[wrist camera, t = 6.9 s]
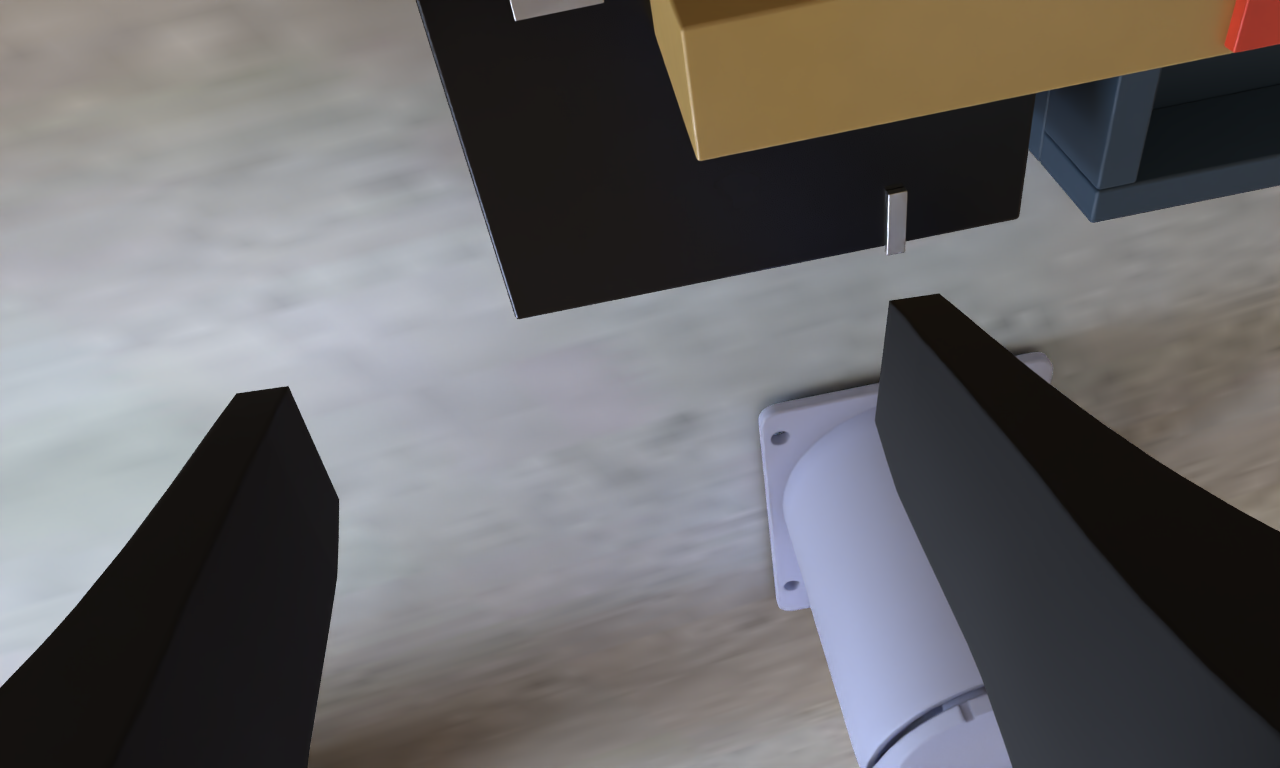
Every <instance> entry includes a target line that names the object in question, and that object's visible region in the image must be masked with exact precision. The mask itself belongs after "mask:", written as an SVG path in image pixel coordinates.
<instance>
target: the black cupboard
mask: <svg viewBox="0 0 1280 768" xmlns="http://www.w3.org/2000/svg"><path fill="white" fill-rule="evenodd" d="M416 3H417V6H418V9H419V13H420V16H421V19H422V22H423V25H424V28H425V32H426V35H427V38H428V41H429V44H430V48H431V51H432V54H433V57H434V60H435V63H436V67H437V70H438V73H439V76H440V79H441V83H442V86H443V89H444V92H445V95H446V98H447V102H448V105H449V108H450V111H451V114H452V118H453V121H454V124H455V127H456V130H457V133H458V137H459V140H460V143H461V146H462V149H463V153H464V156H465V159H466V162H467V165H468V168H469V172H470V175H471V178H472V181H473V184H474V187H475V191H476V194H477V197H478V200H479V203H480V207H481V210H482V213H483V216H484V219H485V222H486V226H487V229H488V232H489V235H490V238H491V242H492V245H493V248H494V251H495V254H496V257H497V261H498V264H499V267H500V270H501V273H502V277H503V280H504V283H505V286H506V289H507V292H508V296H509V299H510V302H511V305H512V308H513V312H514V315H515V317H516V318H517V319H523V318H528V317H533V316H538V315H542V314H547V313H552V312H557V311H562V310H567V309H572V308H577V307H582V306H587V305H592V304H597V303H602V302H607V301H612V300H617V299H622V298H627V297H632V296H637V295H642V294H647V293H652V292H657V291H662V290H667V289H672V288H677V287H682V286H686V285H691V284H696V283H701V282H706V281H711V280H716V279H721V278H726V277H731V276H736V275H741V274H746V273H751V272H756V271H761V270H766V269H771V268H776V267H781V266H786V265H791V264H796V263H801V262H806V261H811V260H816V259H821V258H826V257H830V256H835V255H840V254H845V253H850V252H855V251H860V250H865V249H870V248H875V247H880V246H885V253H886V254H887V256H888V255H893V254H898V253H903V252H905V241H910V240H915V239H920V238H925V237H930V236H935V235H940V234H945V233H950V232H955V231H960V230H965V229H970V228H974V227H979V226H984V225H989V224H994V223H999V222H1004V221H1009V220H1014V219H1017V218H1018V217H1019V214H1020V207H1021V199H1022V192H1023V185H1024V177H1025V170H1026V163H1027V156H1028V148H1029V141H1030V134H1031V126H1032V119H1033V112H1034V104H1035V97H1036V93H1033V94H1028V95H1023V96H1018V97H1013V98H1008V99H1003V100H999V101H994V102H989V103H984V104H979V105H974V106H969V107H964V108H959V109H954V110H949V111H944V112H939V113H935V114H930V115H925V116H920V117H915V118H910V119H905V120H900V121H895V122H890V123H885V124H880V125H876V126H871V127H866V128H861V129H856V130H851V131H846V132H841V133H836V134H831V135H826V136H821V137H816V138H812V139H807V140H802V141H797V142H792V143H787V144H782V145H777V146H772V147H767V148H762V149H757V150H752V151H748V152H743V153H738V154H733V155H728V156H723V157H718V158H713V159H708V160H703V161H699V160H698V159H697V158H696V155H695V152H694V149H693V146H692V143H691V140H690V137H689V134H688V131H687V128H686V125H685V122H684V119H683V116H682V113H681V110H680V107H679V104H678V101H677V98H676V95H675V92H674V89H673V86H672V83H671V80H670V77H669V74H668V71H667V68H666V65H665V62H664V60H663V57H662V54H661V51H660V48H659V45H658V42H657V39H656V36H655V30H654V24H653V17H652V10H651V3H650V0H416Z"/></svg>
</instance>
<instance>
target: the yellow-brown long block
mask: <svg viewBox="0 0 1280 768" xmlns="http://www.w3.org/2000/svg"><path fill="white" fill-rule="evenodd" d="M650 3H651V10H652V17H653V24H654V30H655V36H656V39H657V42H658V45H659V48H660V51H661V54H662V57H663V60H664V62H665V65H666V68H667V71H668V74H669V77H670V80H671V83H672V86H673V89H674V92H675V95H676V98H677V101H678V104H679V107H680V110H681V113H682V116H683V119H684V122H685V125H686V128H687V131H688V134H689V137H690V140H691V143H692V146H693V149H694V152H695V155H696V158H697V159H698V160H699V161H703V160H708V159H713V158H718V157H723V156H728V155H733V154H738V153H743V152H748V151H752V150H757V149H762V148H767V147H772V146H777V145H782V144H787V143H792V142H797V141H802V140H807V139H812V138H816V137H821V136H826V135H831V134H836V133H841V132H846V131H851V130H856V129H861V128H866V127H871V126H876V125H880V124H885V123H890V122H895V121H900V120H905V119H910V118H915V117H920V116H925V115H930V114H935V113H939V112H944V111H949V110H954V109H959V108H964V107H969V106H974V105H979V104H984V103H989V102H994V101H999V100H1003V99H1008V98H1013V97H1018V96H1023V95H1028V94H1033V93H1038V92H1043V91H1048V90H1053V89H1058V88H1063V87H1067V86H1072V85H1077V84H1082V83H1087V82H1092V81H1097V80H1102V79H1107V78H1112V77H1117V76H1122V75H1126V74H1131V73H1136V72H1141V71H1146V70H1151V69H1156V68H1161V67H1166V66H1171V65H1176V64H1181V63H1186V62H1190V61H1195V60H1200V59H1205V58H1210V57H1215V56H1220V55H1225V54H1230V53H1237V52H1242V51H1247V50H1252V49H1257V48H1262V47H1267V46H1272V45H1277V44H1280V0H650Z"/></svg>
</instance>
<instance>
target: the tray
mask: <svg viewBox="0 0 1280 768" xmlns="http://www.w3.org/2000/svg"><path fill="white" fill-rule="evenodd" d="M1029 150H1030V152H1031V153H1032V154H1033V155H1034V156H1035V157H1036V159H1037V160H1039V161H1040V162H1041V164H1042V165H1043V166H1044V168H1045V169H1046V170H1047V171H1048V172H1049V174H1050V175H1051V176H1052V177H1053V178H1054V179H1055V181H1056V182H1057V183H1058V184H1059V185H1060V187H1061V188H1062V189H1063V190H1064V191H1065V193H1066V194H1067V195H1068V196H1069V197H1070V198H1071V200H1072V201H1073V202H1074V203H1075V204H1076V206H1077V207H1078V208H1079V209H1080V210H1081V211H1082V213H1083V214H1084V215H1085V216H1086V217H1087V219H1088V220H1089V221H1090V222H1093V223H1095V222H1100V221H1105V220H1110V219H1115V218H1120V217H1125V216H1130V215H1135V214H1140V213H1145V212H1150V211H1155V210H1160V209H1165V208H1170V207H1175V206H1180V205H1185V204H1190V203H1195V202H1200V201H1205V200H1210V199H1214V198H1219V197H1224V196H1229V195H1234V194H1239V193H1244V192H1249V191H1254V190H1259V189H1264V188H1269V187H1274V186H1279V185H1280V44H1277V45H1272V46H1267V47H1262V48H1257V49H1252V50H1247V51H1242V52H1237V53H1230V54H1225V55H1220V56H1215V57H1210V58H1205V59H1200V60H1195V61H1190V62H1186V63H1181V64H1176V65H1171V66H1166V67H1161V68H1156V69H1151V70H1146V71H1141V72H1136V73H1131V74H1126V75H1122V76H1117V77H1112V78H1107V79H1102V80H1097V81H1092V82H1087V83H1082V84H1077V85H1072V86H1067V87H1063V88H1058V89H1053V90H1048V91H1043V92H1038V93H1036V97H1035V104H1034V112H1033V119H1032V126H1031V134H1030V141H1029Z"/></svg>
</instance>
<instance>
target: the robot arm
mask: <svg viewBox="0 0 1280 768" xmlns="http://www.w3.org/2000/svg"><path fill="white" fill-rule="evenodd" d="M1052 374H1053V364H1052V363H1051V361H1050V360H1049V358H1048V357H1047V356H1046V354H1044V353H1041V352H1031V353H1026V354H1021V355H1016V356H1014V355H1013V354H1012V353H1010V352H1009V351H1008V350H1007V349H1006V348H1004V347H1003V346H1002V345H1001V344H999V343H998V342H997V341H996V340H995V339H993V338H992V337H991V336H990V335H989V334H987V333H986V332H985V331H984V330H983V329H981V328H980V327H979V326H978V325H977V324H975V323H974V322H973V321H972V320H971V319H969V318H968V317H967V316H966V315H965V314H963V313H962V312H961V311H960V310H959V309H957V308H956V307H955V306H954V305H953V304H951V303H950V302H949V301H948V300H946V299H945V298H944V297H943V296H941V295H940V294H933V295H926V296H919V297H912V298H905V299H898V300H891V301H889V308H888V316H887V324H886V332H885V341H884V349H883V357H882V365H881V373H880V382H879V383H876V384H871V385H866V386H861V387H856V388H851V389H846V390H841V391H836V392H831V393H826V394H821V395H816V396H811V397H806V398H801V399H796V400H791V401H786V402H781V403H776V404H773V405H770V406H768V407H766V408H765V409H763V410H762V412H761V413H760V415H759V419H758V422H759V432H760V442H761V452H762V462H763V472H764V482H765V492H766V502H767V512H768V522H769V532H770V542H771V552H772V562H773V572H774V582H775V592H776V599H777V603H778V606H779V608H781V609H783V610H786V611H794V610H799V609H805V608H810V607H811V610H812V613H813V617H814V620H815V623H816V627H817V630H818V633H819V637H820V640H821V643H822V647H823V650H824V653H825V657H826V660H827V663H828V667H829V670H830V673H831V677H832V680H833V683H834V687H835V690H836V693H837V697H838V700H839V703H840V707H841V710H842V713H843V717H844V720H845V723H846V727H847V730H848V733H849V737H850V740H851V743H852V747H853V750H854V753H855V756H856V759H857V761H858V764H859V766H860V768H1280V532H1279V531H1277V530H1275V529H1273V528H1271V527H1269V526H1268V525H1266V524H1264V523H1262V522H1260V521H1258V520H1257V519H1255V518H1253V517H1251V516H1249V515H1247V514H1246V513H1244V512H1242V511H1240V510H1238V509H1237V508H1235V507H1233V506H1231V505H1230V504H1228V503H1226V502H1225V501H1223V500H1221V499H1220V498H1218V497H1216V496H1214V495H1213V494H1211V493H1209V492H1208V491H1206V490H1204V489H1203V488H1201V487H1199V486H1198V485H1196V484H1194V483H1192V482H1191V481H1189V480H1187V479H1186V478H1184V477H1182V476H1181V475H1179V474H1177V473H1176V472H1174V471H1173V470H1171V469H1170V468H1168V467H1166V466H1165V465H1163V464H1162V463H1160V462H1158V461H1157V460H1155V459H1154V458H1152V457H1151V456H1149V455H1148V454H1146V453H1145V452H1143V451H1142V450H1140V449H1139V448H1138V447H1136V446H1135V445H1133V444H1132V443H1130V442H1129V441H1127V440H1126V439H1124V438H1123V437H1122V436H1120V435H1119V434H1117V433H1116V432H1114V431H1113V430H1111V429H1110V428H1108V427H1107V426H1106V425H1104V424H1103V423H1101V422H1100V421H1099V420H1097V419H1096V418H1094V417H1093V416H1092V415H1090V414H1089V413H1088V412H1086V411H1085V410H1084V409H1082V408H1081V407H1079V406H1078V405H1077V404H1075V403H1074V402H1073V401H1071V400H1070V399H1069V398H1067V397H1066V396H1065V395H1063V394H1062V393H1061V392H1060V391H1058V390H1057V389H1056V388H1054V387H1053V386H1052V385H1051V379H1052ZM780 431H783V432H782V433H780V434H777V435H774V434H775V433H777V432H780ZM338 543H339V498H338V496H337V494H336V492H335V489H334V487H333V485H332V483H331V480H330V478H329V476H328V474H327V471H326V469H325V467H324V465H323V463H322V460H321V458H320V456H319V454H318V451H317V449H316V447H315V445H314V442H313V440H312V438H311V436H310V434H309V431H308V429H307V427H306V425H305V422H304V420H303V418H302V416H301V413H300V411H299V409H298V407H297V405H296V402H295V400H294V398H293V396H292V393H291V391H290V389H289V387H288V386H286V387H279V388H272V389H265V390H258V391H251V392H244V393H237V394H236V395H235V396H234V398H233V399H232V400H231V402H230V403H229V404H228V406H227V407H226V408H225V410H224V411H223V412H222V414H221V415H220V416H219V418H218V419H217V421H216V422H215V423H214V425H213V426H212V428H211V429H210V430H209V432H208V433H207V435H206V436H205V437H204V439H203V440H202V442H201V443H200V444H199V446H198V447H197V449H196V450H195V452H194V453H193V454H192V456H191V457H190V459H189V460H188V461H187V463H186V464H185V466H184V467H183V468H182V470H181V471H180V473H179V474H178V475H177V477H176V478H175V480H174V481H173V482H172V484H171V485H170V487H169V488H168V489H167V491H166V492H165V493H164V495H163V496H162V497H161V499H160V500H159V501H158V503H157V504H156V505H155V507H154V508H153V509H152V511H151V512H150V513H149V515H148V516H147V517H146V519H145V520H144V521H143V523H142V524H141V525H140V527H139V528H138V529H137V531H136V532H135V534H134V535H133V536H132V538H131V539H130V540H129V541H128V543H127V544H126V545H125V547H124V548H123V549H122V550H121V552H120V553H119V554H118V555H117V557H116V558H115V559H114V560H113V561H112V563H111V564H110V565H109V566H108V568H107V569H106V570H105V571H104V572H103V574H102V575H101V576H100V577H99V579H98V580H97V581H96V582H95V583H94V585H93V586H92V587H91V588H90V590H89V591H88V592H87V593H86V594H85V596H84V597H83V598H82V599H81V601H80V602H79V603H78V604H77V606H76V607H75V608H74V609H73V610H72V611H71V612H70V614H69V615H68V616H67V617H66V618H65V619H64V620H63V622H62V623H61V624H60V625H59V626H58V627H57V628H56V629H55V630H54V632H53V633H52V634H51V635H50V636H49V637H48V638H47V639H46V640H45V641H44V643H43V644H42V645H41V646H40V647H39V648H38V649H37V650H36V651H35V652H34V653H33V654H32V655H31V656H30V657H29V658H28V659H27V660H26V661H25V663H24V664H23V665H22V666H21V667H20V668H19V669H18V670H17V671H16V672H15V673H14V674H13V675H12V676H11V677H10V678H9V679H8V680H7V681H6V682H5V683H4V684H3V685H2V686H1V688H0V768H307V767H308V759H309V750H310V743H311V737H312V731H313V725H314V719H315V713H316V707H317V700H318V694H319V688H320V682H321V676H322V670H323V664H324V658H325V652H326V646H327V640H328V633H329V627H330V620H331V614H332V608H333V601H334V595H335V588H336V581H337V569H338Z"/></svg>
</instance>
